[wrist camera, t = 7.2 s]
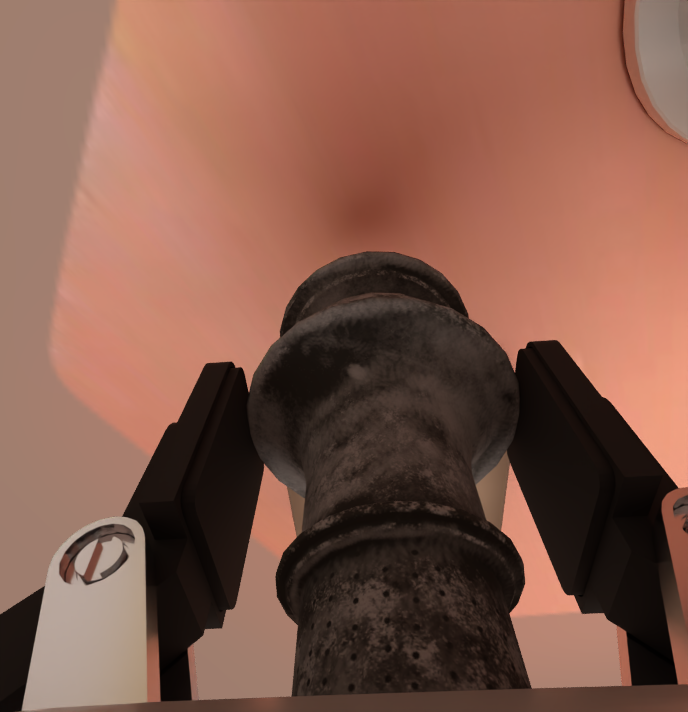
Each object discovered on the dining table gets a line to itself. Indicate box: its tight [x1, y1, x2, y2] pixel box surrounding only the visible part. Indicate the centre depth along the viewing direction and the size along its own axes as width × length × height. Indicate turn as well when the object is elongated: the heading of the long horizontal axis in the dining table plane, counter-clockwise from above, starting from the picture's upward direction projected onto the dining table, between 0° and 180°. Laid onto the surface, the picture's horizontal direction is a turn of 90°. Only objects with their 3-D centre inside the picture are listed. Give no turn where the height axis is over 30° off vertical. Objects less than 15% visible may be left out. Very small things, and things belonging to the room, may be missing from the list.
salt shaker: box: [246, 251, 532, 697], centre depth 8 cm, size 6×6×12 cm
